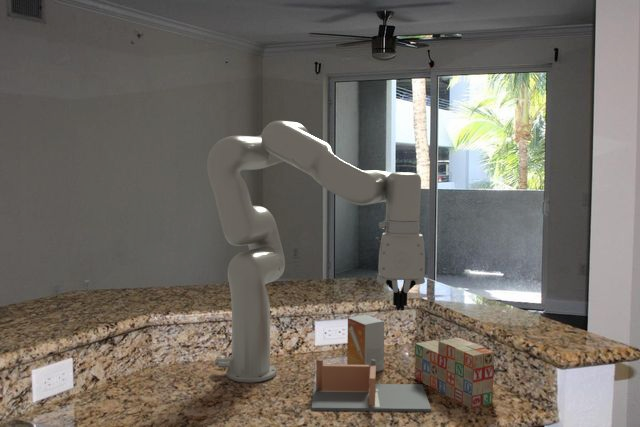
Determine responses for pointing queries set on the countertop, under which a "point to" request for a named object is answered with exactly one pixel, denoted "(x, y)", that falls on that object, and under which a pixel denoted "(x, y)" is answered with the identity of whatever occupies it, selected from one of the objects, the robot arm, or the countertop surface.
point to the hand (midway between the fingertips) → (399, 308)
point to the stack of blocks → (457, 370)
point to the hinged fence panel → (372, 383)
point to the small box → (365, 341)
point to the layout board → (385, 399)
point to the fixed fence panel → (341, 377)
